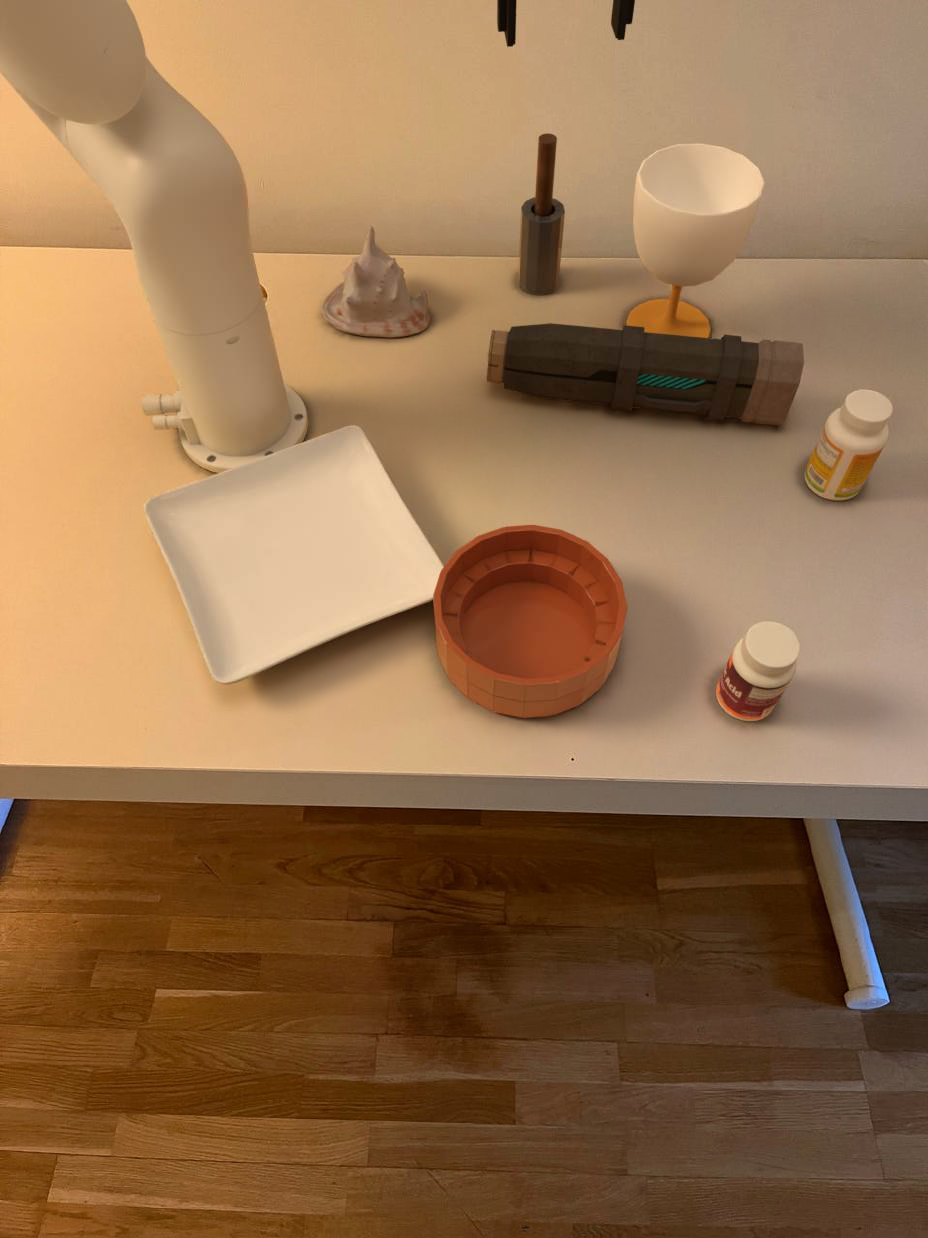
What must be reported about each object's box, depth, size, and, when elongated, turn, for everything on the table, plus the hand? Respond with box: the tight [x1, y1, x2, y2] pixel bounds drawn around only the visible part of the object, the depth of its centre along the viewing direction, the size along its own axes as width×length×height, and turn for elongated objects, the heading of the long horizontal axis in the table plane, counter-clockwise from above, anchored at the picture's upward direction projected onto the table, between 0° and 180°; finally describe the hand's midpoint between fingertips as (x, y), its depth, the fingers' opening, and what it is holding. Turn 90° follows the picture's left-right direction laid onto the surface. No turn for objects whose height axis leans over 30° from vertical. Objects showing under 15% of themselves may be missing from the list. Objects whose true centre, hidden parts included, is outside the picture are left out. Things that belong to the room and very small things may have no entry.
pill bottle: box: [715, 620, 801, 722], centre depth 70 cm, size 5×5×8 cm
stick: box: [534, 132, 558, 217], centre depth 95 cm, size 2×2×16 cm
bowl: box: [432, 524, 628, 719], centre depth 74 cm, size 15×15×6 cm
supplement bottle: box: [804, 388, 894, 501], centre depth 82 cm, size 5×5×10 cm
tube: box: [486, 322, 805, 426], centre depth 89 cm, size 11×7×30 cm
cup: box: [625, 142, 766, 338], centre depth 91 cm, size 12×12×17 cm
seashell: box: [321, 225, 431, 338], centre depth 96 cm, size 10×12×9 cm
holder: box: [517, 196, 566, 296], centre depth 98 cm, size 4×4×9 cm
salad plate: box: [143, 424, 445, 685], centre depth 79 cm, size 21×21×3 cm
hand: (563, 35), depth 80 cm, fingers open, 9 cm apart
